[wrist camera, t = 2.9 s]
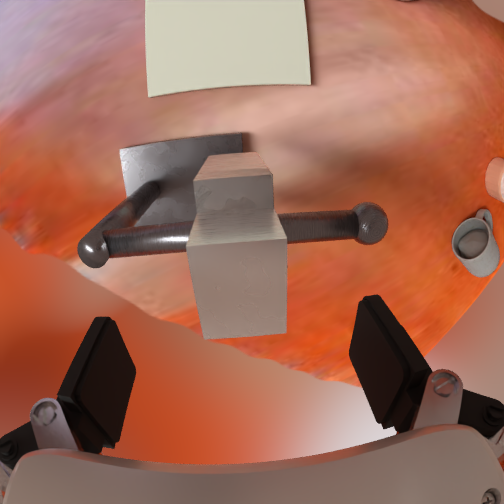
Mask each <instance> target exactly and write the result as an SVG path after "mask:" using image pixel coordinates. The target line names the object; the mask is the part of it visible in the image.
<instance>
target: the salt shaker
mask: <svg viewBox="0 0 504 504" xmlns="http://www.w3.org/2000/svg"><path fill="white" fill-rule="evenodd" d="M485 184H486V189H487V192H488V194H489V195H490V196H492V197H494V198H496V199H497V200H499V201H501V202H503V203H504V159H503V158H500V157H496V158H494V159H492V161H491V162H490V163H489V165H488V167H487V171H486V176H485Z"/></svg>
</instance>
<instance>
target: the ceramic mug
mask: <svg viewBox="0 0 504 504" xmlns="http://www.w3.org/2000/svg"><path fill="white" fill-rule="evenodd" d="M483 216H484V217H485V219H486V222H485V221H484V220H483ZM492 230H493V222H492V217H491V214H490V212H489V210H487V209H480V210H478V212H477V214H476V216H475V218H469V219H467V220H465V221H463V222H462V223H461V224H460V225H459V226H458V227H457V229H456V230H455V232H454V234H453V238H452V249H453V252H454V254H455V255H456V257H457V258H458V259H459V260H460V261H461V262H462V264H463V265H464V266H465V267H466V268H467V270H468V271H469V272H470V273H471V274H473V275H475V276H477V277H486V276H488V275H490V274H491V273H493V272H494V271H495V269H496V268H497V266H498V263H499V259H500V253H499V248H498V245H497V243H496V241H495V239H494V236H493V234H492Z"/></svg>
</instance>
